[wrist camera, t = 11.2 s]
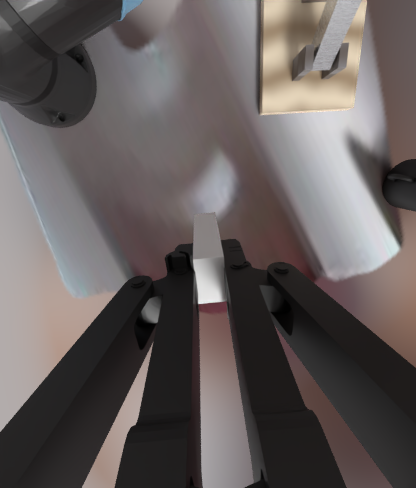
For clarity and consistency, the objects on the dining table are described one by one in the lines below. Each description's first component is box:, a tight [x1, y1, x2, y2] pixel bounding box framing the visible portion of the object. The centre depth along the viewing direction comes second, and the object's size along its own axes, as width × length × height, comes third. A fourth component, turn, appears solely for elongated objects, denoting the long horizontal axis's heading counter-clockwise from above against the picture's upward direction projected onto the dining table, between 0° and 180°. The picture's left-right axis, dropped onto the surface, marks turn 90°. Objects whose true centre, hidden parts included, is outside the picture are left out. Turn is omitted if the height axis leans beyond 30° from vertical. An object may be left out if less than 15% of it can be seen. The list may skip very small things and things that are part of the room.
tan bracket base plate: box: [260, 0, 367, 115], centre depth 36 cm, size 22×16×7 cm
